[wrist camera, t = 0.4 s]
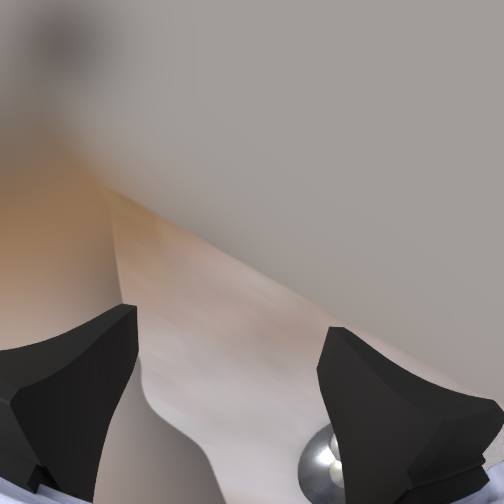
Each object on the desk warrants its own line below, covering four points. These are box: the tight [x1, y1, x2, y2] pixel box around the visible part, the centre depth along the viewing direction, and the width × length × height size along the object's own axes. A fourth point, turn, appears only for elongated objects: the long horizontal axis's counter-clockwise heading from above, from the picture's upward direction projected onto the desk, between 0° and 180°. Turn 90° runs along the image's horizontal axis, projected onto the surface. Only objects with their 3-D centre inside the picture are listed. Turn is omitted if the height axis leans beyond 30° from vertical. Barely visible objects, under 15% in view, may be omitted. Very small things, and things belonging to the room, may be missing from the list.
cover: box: [328, 430, 341, 463], centre depth 29 cm, size 5×5×3 cm
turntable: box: [298, 423, 346, 504], centre depth 30 cm, size 14×14×2 cm
